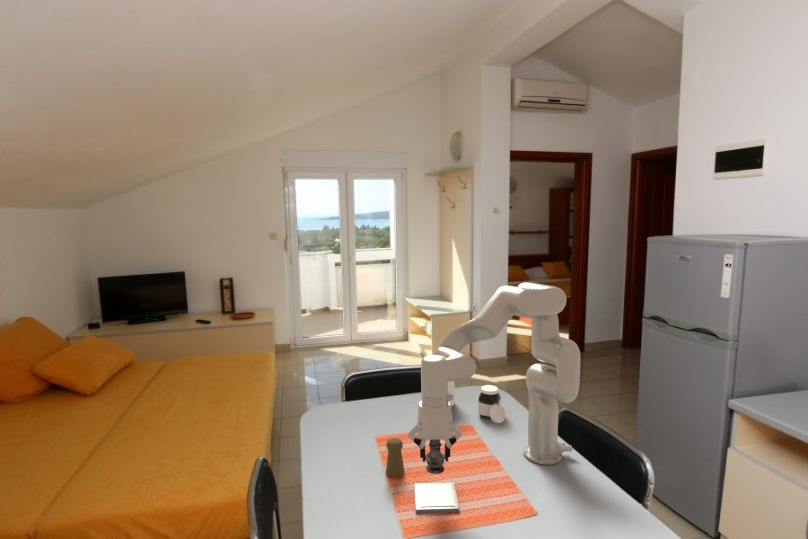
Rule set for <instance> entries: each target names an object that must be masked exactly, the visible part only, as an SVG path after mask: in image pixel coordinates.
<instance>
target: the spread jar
mask: <svg viewBox="0 0 808 539" xmlns="http://www.w3.org/2000/svg"><path fill="white" fill-rule="evenodd" d="M480 389H481V390H480V393H479V395H478V401H477V409H478V410H477V411H478V415H479V416H480V417H482V418H483V419H485V420H491V421H492V422H493V423H496V424H501V423H503V422H504V421H505V419H506V416H507V415H506V414H507V413H506V410H505V408H504V407H503V405H502V396H501V394H500V393H499V388H498V387H497V386H495V385H493V384H486V385H482V386H481V388H480Z"/></svg>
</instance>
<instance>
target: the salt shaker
mask: <svg viewBox="0 0 808 539" xmlns="http://www.w3.org/2000/svg"><path fill="white" fill-rule="evenodd" d="M428 446H429V452H427V453H425V463H427V466H426V468H425V470H426V471H427V473H429V474H432V475H439V474H442V473H444V471H445V466H444V462H445V461H446V460H445V453H442V452H441V446H442V443H441V440H429V443H428Z"/></svg>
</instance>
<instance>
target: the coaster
mask: <svg viewBox="0 0 808 539" xmlns="http://www.w3.org/2000/svg"><path fill="white" fill-rule="evenodd" d="M455 486H456V485H455V482H433V483H432V482H428V483H414V498H415V513H416V514H421V513H422V514H424V513H427V514H429V513H431V514H432V513H459V512H460V506H459V501H458V496H457V490H456V487H455Z"/></svg>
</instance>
